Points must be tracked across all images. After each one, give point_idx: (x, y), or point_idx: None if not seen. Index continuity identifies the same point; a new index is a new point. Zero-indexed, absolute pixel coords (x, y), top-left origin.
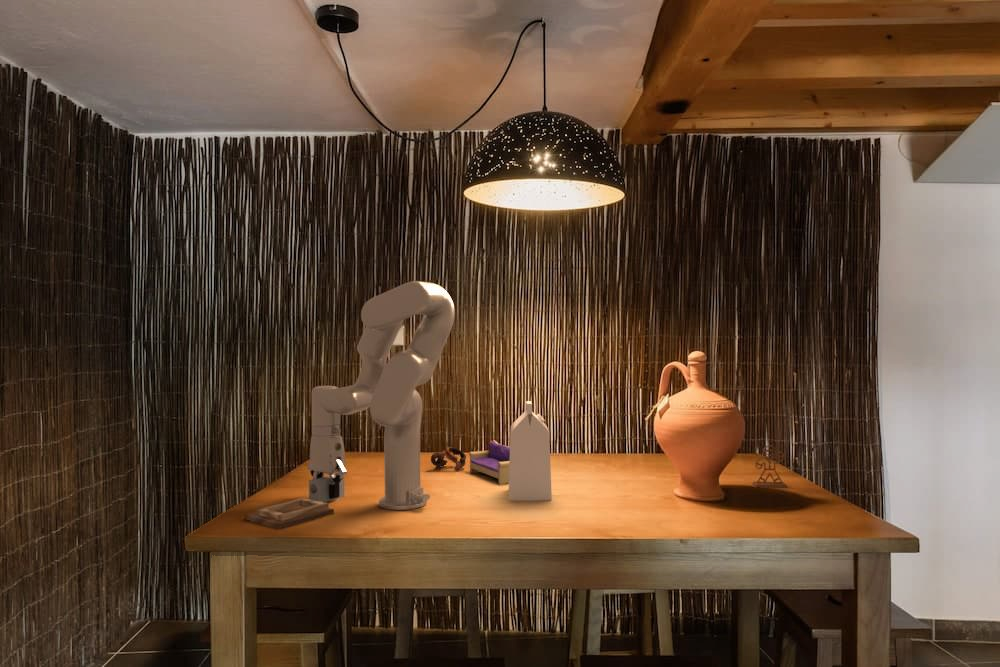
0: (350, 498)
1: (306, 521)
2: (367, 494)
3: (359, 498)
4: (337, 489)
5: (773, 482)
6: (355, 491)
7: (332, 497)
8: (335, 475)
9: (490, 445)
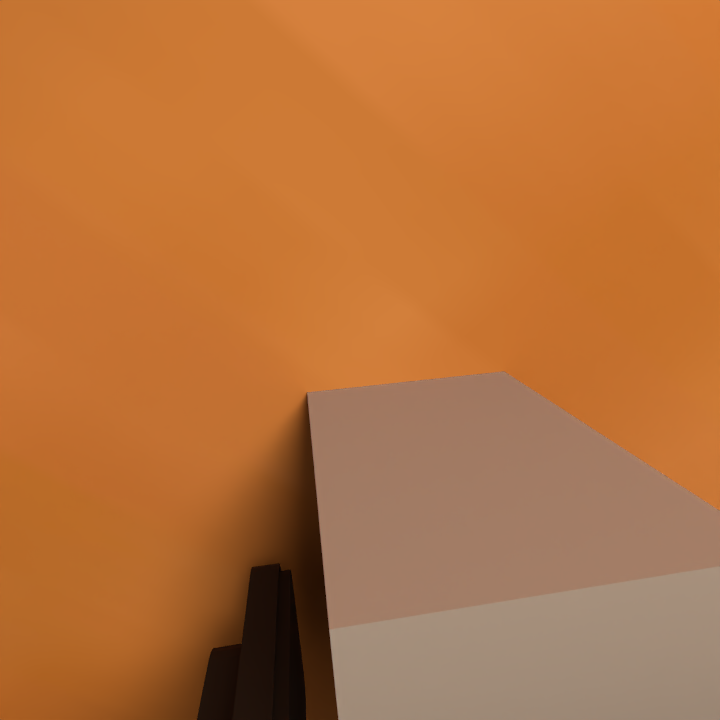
0: (616, 359)
1: None
2: (667, 40)
3: (714, 282)
4: None
5: None
6: (361, 14)
7: None
8: (488, 681)
9: None
